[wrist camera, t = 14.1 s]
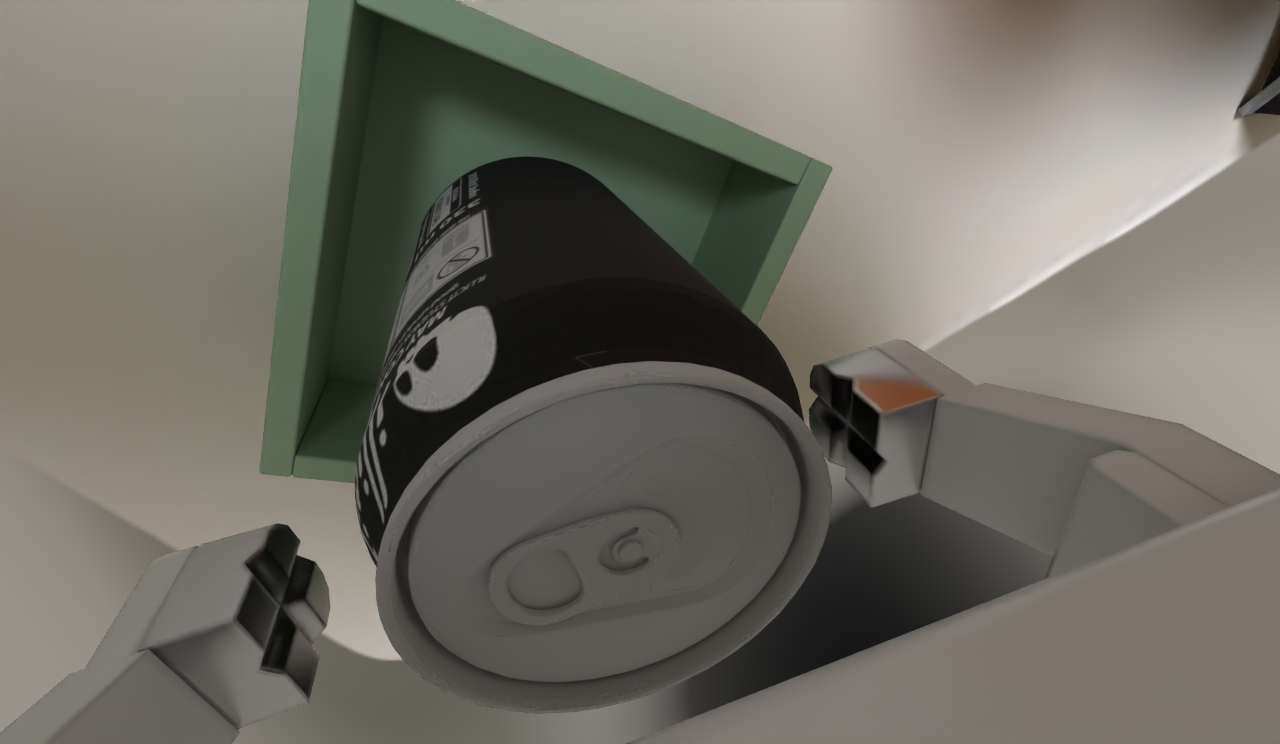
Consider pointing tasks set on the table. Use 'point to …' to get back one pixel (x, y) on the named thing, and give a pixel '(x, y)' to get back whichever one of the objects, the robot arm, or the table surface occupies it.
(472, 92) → the bin
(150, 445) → the table surface
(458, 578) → the beverage can
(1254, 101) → the book
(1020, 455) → the robot arm
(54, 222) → the table surface
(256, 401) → the table surface
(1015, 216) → the table surface
